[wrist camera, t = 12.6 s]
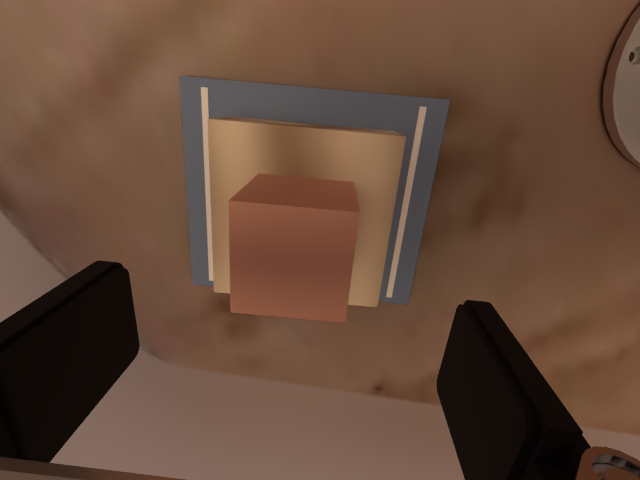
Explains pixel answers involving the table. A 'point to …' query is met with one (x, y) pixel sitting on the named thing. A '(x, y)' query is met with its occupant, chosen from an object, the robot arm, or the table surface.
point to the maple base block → (309, 162)
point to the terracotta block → (292, 247)
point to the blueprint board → (327, 109)
